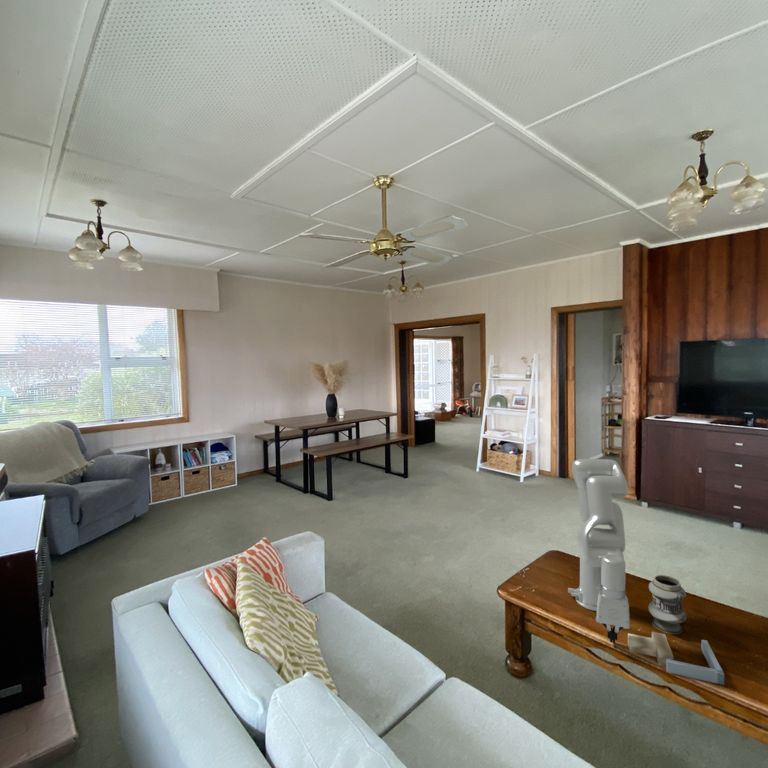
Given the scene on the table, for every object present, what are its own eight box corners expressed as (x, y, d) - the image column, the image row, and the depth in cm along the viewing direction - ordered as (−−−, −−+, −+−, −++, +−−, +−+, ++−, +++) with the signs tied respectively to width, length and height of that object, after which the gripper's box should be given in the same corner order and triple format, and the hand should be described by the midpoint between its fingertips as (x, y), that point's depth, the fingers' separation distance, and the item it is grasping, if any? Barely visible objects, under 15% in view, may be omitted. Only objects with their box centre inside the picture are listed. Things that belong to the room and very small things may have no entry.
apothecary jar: (645, 613, 169) (646, 569, 168) (682, 620, 164) (683, 575, 163) (650, 631, 158) (651, 584, 157) (689, 639, 153) (690, 591, 152)
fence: (667, 672, 138) (667, 661, 137) (656, 640, 153) (656, 630, 153) (724, 685, 132) (724, 674, 132) (706, 650, 147) (707, 640, 147)
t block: (631, 658, 144) (631, 647, 144) (626, 637, 155) (626, 626, 155) (673, 668, 139) (673, 656, 139) (664, 644, 150) (664, 634, 150)
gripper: (590, 592, 150) (589, 642, 151) (639, 600, 144) (638, 652, 145) (588, 581, 157) (588, 629, 158) (635, 589, 151) (634, 639, 152)
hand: (612, 640), depth 151 cm, fingers closed
